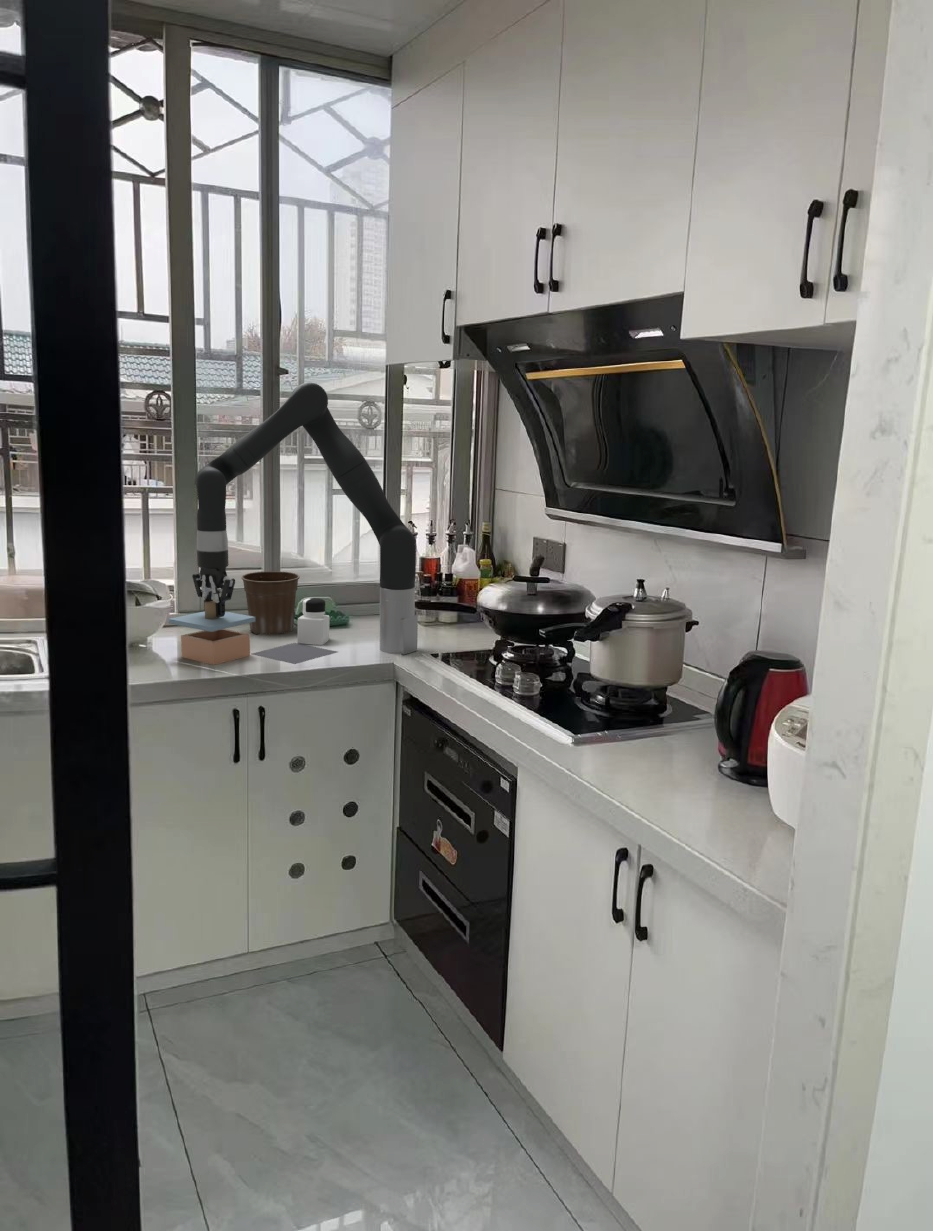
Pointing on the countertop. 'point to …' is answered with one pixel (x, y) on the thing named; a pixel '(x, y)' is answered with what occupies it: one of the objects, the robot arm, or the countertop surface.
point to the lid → (211, 619)
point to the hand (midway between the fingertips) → (214, 615)
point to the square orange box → (215, 646)
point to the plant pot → (271, 601)
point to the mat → (294, 653)
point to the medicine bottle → (313, 623)
